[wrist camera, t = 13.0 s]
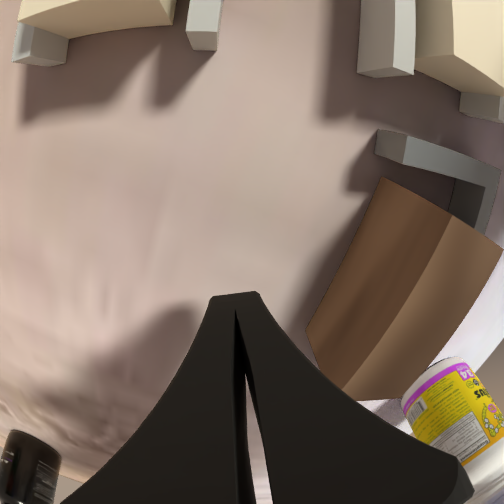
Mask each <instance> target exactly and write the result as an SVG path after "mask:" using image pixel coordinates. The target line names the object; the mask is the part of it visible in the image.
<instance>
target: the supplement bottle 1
mask: <svg viewBox="0 0 504 504" xmlns="http://www.w3.org/2000/svg"><path fill="white" fill-rule="evenodd" d="M60 465H61V457H60V455H59V454H58V453H57V452H56V451H55V450H54V449H52V448H51V447H49V446H48V445H46V444H45V443H43V442H42V441H40V440H38V439H36V438H34V437H32V436H30V435H28V434H26V433H23V432H21V431H17V430H13V431H11V432H10V433H9V435H8V438H7V440H6V443H5V446H4V450H3V453H2V456H1V460H0V501H1V504H53V503H54V497H55V491H56V485H57V480H58V475H59V470H60Z"/></svg>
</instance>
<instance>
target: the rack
mask: <svg viewBox="0 0 504 504" xmlns="http://www.w3.org/2000/svg"><path fill="white" fill-rule="evenodd" d="M176 1H177V0H22V3H21V7H20V11H19V15H18V19H17V21H18V26H17V31H16V36H15V41H14V47H13V54H12V61H11V62H15V63H24V64H32V65H39V66H46V67H51V66H55V65H59V64H64V63H66V57H67V49H68V42H69V39H71V38H76V37H80V36H85V35H90V34H95V33H101V32H107V31H114V30H121V29H129V28H138V27H149V26H165V25H173V19H174V13H175V7H176ZM222 6H223V0H190V4H189V11H188V17H187V24H186V34H187V36H188V39H189V41H190V44H191V46H192V49H193V50H211V51H217V45H218V37H219V29H220V21H221V13H222ZM414 70H417V71H419V72H421V73H424V74H426V75H428V76H430V77H432V78H434V79H437V80H439V81H441V82H443V83H445V84H447V85H449V86H451V87H453V88H455V89H456V90H458V91H460V92H461V96H460V107H459V112H461V113H463V114H465V115H467V116H469V117H474V118H479V119H484V120H489V121H493V122H497V123H501V124H504V0H361V13H360V34H359V49H358V62H357V73H359V74H362V75H366V76H369V77H372V78H382V77H392V76H405V75H414Z"/></svg>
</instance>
